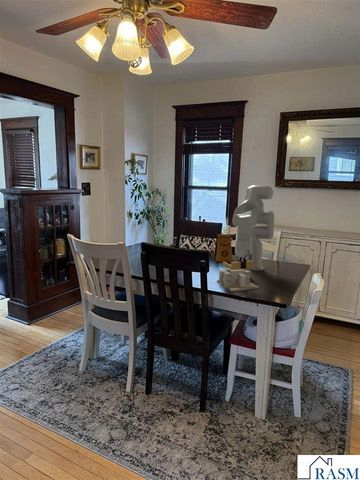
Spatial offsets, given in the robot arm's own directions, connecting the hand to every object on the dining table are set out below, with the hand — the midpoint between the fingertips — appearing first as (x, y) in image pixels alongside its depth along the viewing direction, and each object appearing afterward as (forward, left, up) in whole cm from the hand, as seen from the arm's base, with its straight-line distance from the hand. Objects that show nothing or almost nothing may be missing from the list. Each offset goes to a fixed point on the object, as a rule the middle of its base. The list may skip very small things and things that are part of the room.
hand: (242, 267), depth 194 cm
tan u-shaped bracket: (-5, 0, -1) cm, 5 cm away
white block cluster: (-6, 0, -12) cm, 14 cm away
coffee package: (-61, +19, -13) cm, 65 cm away
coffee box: (-21, +13, -13) cm, 27 cm away
